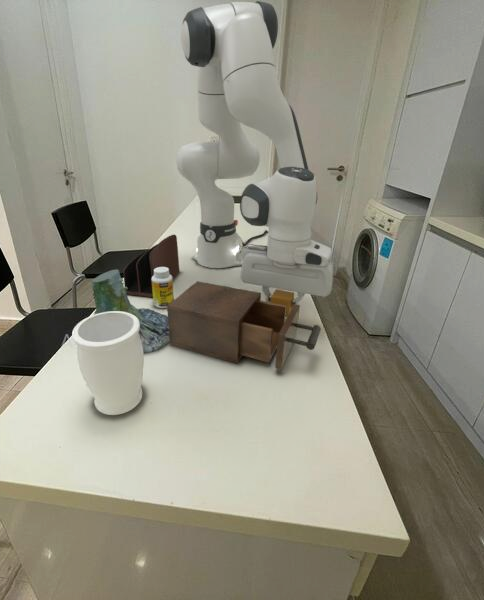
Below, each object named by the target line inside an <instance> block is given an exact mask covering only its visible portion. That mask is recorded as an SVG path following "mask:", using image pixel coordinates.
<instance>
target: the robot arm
mask: <svg viewBox="0 0 484 600" xmlns="http://www.w3.org/2000/svg"><path fill="white" fill-rule="evenodd" d="M278 19H279V18H278V14H277V11H276V10H275V7H274V6H273V4H271V3H269V2H266V1H262V0H261V1H259V0H257V1H255V2H250V1H230V2H228V3H222V4H216V5H211V6H207V7H202V6H199V7H196V8H194V9H191V10H189V11H188V12H187V13H186V14H185V16H184V18H183V20H182V27H181V34H180V43H181V48H182V51H183V54H184V57H185V60H186V62H188V63H189V64H190V65H191V66H194V67H198V69H197V71H198V72H197V103H198V120H199V122H200V124H201V125H202V126H203V127H204V128H205V129H206V130H208V131H210V132H212V133H214V134H216V135H217V136H218V137H219V138H220V139H219V140H215V141H211V140H210V141H195V142H191V143H187V144H183V145H182V146H181V147H180V148H179V150H178V152H177V155H176V161H175V162H176V167H177V170H178V173H179V174H180V175H181V177H183V178H184V179H185V180H187V181H188V182H189V183H190V184H191V186H192V187H193V188H194V190H195V191H196V193H197V196H198V199H199V205H200V219H201V220H200V222H199V232H200V235H199V236H198V237H197V240H196V253H195V254H194V255H193V259H194V260H195V261H196V262H197V264H198V265H199V266H201V267H205V268H210V269H226V268H230V267H240V266H241V269H240V280H241V281H242V282H243V284H249V285H253V286H254V285H255V286H260V287H261V290H262V293H263V294H264V296H265V302H271V296H272V295H273V293H271V291H270V288H271V289H277V290H283V291H288V292H294V293H296V296H297V297H296V298H295V297H294V298H293V299H292V301H291V308H293V306H294V304H295V305H299V303H300V301H301V300H302V299H303V298H304V296H305V294H306V295H311V296H316V297H322V298H326V297H328V296H329V295H331V293H332V290H333V286H334V285H333V284H334V264H333V261H331V258H332V256H333V255H332V253H333V250H332V248H331V247H330V246H328V245H325V244H323V243H320V242H318V241H315V240H314V239H312V229H311V228H312V223H313V220H314V218H315V214H316V206H317V203H318V186H317V179H316V175H315V173H314V172H312V171H311V170H310V169H309V165H308V161H307V157H306V153H305V149H304V144H303V140H302V135H301V132H300V128H299V125H298V120H297V117H296V114H295V111H294V109H293V107H292V106H291V104H289V102H288V101H287V99H286V98H285V95H284V94H283V91H282V88H281V86H280V83H279V80H278V75H277V74H278V73H277V68H276V60H275V55H274V48H275V46H276V43H277V39H278V33H279V20H278ZM241 124H242V125H244V126H246V127H249V128H252V129H254V130H256V131H258V132H260V133H262V134H263V135H265V136H266V137H267V138H268V139H269V140H270V141H271V142H272V143H273V145H274V147H275V151H276V155H277V159H278V163H279V167H280V168H279V169H277V170H276V171H275V172H274V174H273V175H271V176H269V177H268V178H265V179H262V180H259V181H256V182H252V183H249V184H248V185H246V186H245V188H244V190H243V191H242V193H241V196H240V200H239V211H240V215H241V217H242V219H243V220H245V222H246V223H247V224H249V225H250V226H254V227H267V229H268V230H267V229H266V230H264V231H263V233H261V234H258V235H255V236H252V237H250V238H248V239H247V241H246V242H245V243H244V241H243V237H241V236H240V235H239V234H238V233H237V226H238V224H239V221H238V219H235V199H234V197H233V195H232V194H231V193H229V192H228V191H226V190H224V189H222V188H220V187H218V186H217V185H216V181H217V180H234V179H242V178H246V177H247V178H248V177H251V176H253V175H254V174H255V172H256V171H257V169H258V168H259V165H260V161H261V160H260V156H261V155H260V152H259V151H260V150H259V149H258V147H257V146H256V144H255V143H254V142H253V141H252V140H250V139H249V138H248V137H247V136H246V134H245V132H244V131H243V129H242V127H241ZM266 234H267V245H263V244H262V245H261V244H254V243H249V242H250V241H252V240H254V239H257V238H260V237H263V236H265V235H266Z"/></svg>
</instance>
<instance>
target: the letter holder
mask: <svg viewBox="0 0 484 600" xmlns="http://www.w3.org/2000/svg"><path fill="white" fill-rule="evenodd" d="M179 258H180V257H179V246H178V237H177V235H176V234H171V235H169V236H167V237H165V238H164V239H162V240H161V241H160V242H159V243H157V244H155V245H153V246H152V247H151V248H148V249H147V250H146V249H145V250H144V251H143V252H141V253H139V254H138V255H136V256H135V257H134V258H133V259H131V261H129V262H128V263H127V264H126V265H125V267H124V268H123V271H122V273H123V274H122V275H123V283H124V284H123V285H124V287H127V288H128V290H127V291H126V295H129V296H137V297H146V298H147V297H148V298H153V291H152V280H151V279H152V276H153V275H154V269H155V268H158V267H167V268H168V269H169V274H170V275H171V276H172V279H173V280H174V279H175V278H176V277H177V276H178V275H179V274H180V273H181V271H180V260H179Z"/></svg>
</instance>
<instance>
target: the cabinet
mask: <svg viewBox="0 0 484 600" xmlns="http://www.w3.org/2000/svg"><path fill="white" fill-rule="evenodd" d="M258 300H260V301H262V292H258V291H254V290H248V289H244V288H243V289H241V288H237V287H231V286H226V285H220V284H215V283H209V282H204V281H200V280H199V281H198V280H197V281H196V282H194V283H193V284H192V285H191V286H189V288H187V289H185V291H183V292H182V293H181V294H180V295H178V296H177V297H176V298H174V301H172V302H171V303H170V304H169V305H167V308H166V309H167V317H168V324H169V337H170V342H169V345H170V346H173V347H177V348H180V349H184V350H187V351H191V352H195V353H197V354H202V355H204V356H208V357H212V358H216V359H219V360H223V361H226V362H229V363H233V364H238V363H239V362H240V360H241V358H242V357H243V355H239V341H240V323H241V322H242V320H243V319H244V318H245V317H246V315H247V314H248V313H249V311H250V310H251V309H252V307H253V306H254V305H255V303H256V302H257V301H258Z"/></svg>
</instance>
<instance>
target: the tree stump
mask: <svg viewBox="0 0 484 600" xmlns="http://www.w3.org/2000/svg"><path fill="white" fill-rule="evenodd" d="M91 285H92V286H91V288H92V291H93V292H92V296H93V300H94V304H95V311H94V313H93V315H95V314H98V313H102V312H109V311H122V312H127V313H130V314H133V315H134V316H136V317H137V318H138V320H139V324H140V329H139V332H138V334H139V336H140V339H141V342H142V347H143V354H146V353H152V352H156V351H158V350H160V349H162V348H163V347H164V346H166V345H168V344H170V337H169V324H168V315H166V314H163V313H160V312H158V311H155V310H154V309H150V308H145V307H141V308H137V307H136V306H134V305H133V304H131V301H130V299H129V297H128V294H126V291H127V290H128V288H127V287H125V285H124V278H122V277H121V273H120V270H119V269H116V268H115V269H111V270H109V271H106V272H104V273H101V274H99V275H98V276H96V277H94V278H93V279H92V281H91Z"/></svg>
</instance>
